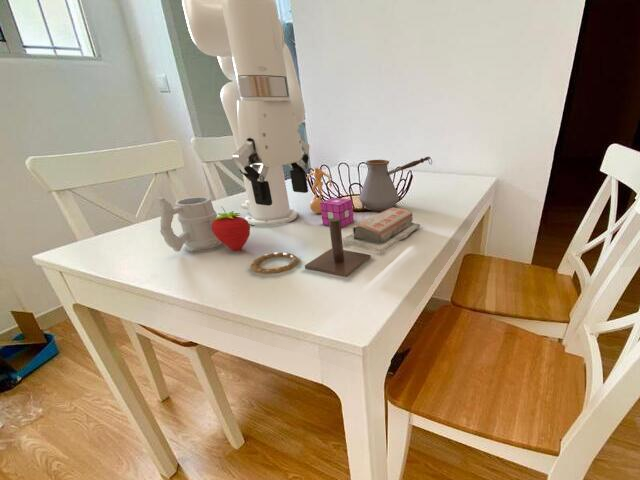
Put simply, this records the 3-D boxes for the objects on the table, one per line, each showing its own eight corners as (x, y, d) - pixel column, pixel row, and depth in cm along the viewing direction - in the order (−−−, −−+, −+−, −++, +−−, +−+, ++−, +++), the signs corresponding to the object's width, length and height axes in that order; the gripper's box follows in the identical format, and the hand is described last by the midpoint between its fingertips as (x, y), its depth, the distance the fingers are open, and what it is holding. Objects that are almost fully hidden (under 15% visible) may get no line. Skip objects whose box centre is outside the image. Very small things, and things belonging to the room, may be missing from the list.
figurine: (301, 214, 94) (294, 169, 89) (312, 208, 99) (306, 165, 94) (328, 216, 92) (323, 170, 87) (338, 210, 97) (334, 166, 92)
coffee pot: (352, 210, 97) (348, 155, 90) (370, 200, 107) (368, 149, 100) (423, 219, 91) (424, 160, 83) (436, 207, 100) (438, 153, 93)
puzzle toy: (336, 218, 91) (333, 197, 88) (354, 221, 89) (352, 199, 86) (322, 224, 86) (319, 202, 84) (341, 228, 84) (338, 205, 82)
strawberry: (244, 259, 68) (232, 210, 63) (211, 256, 69) (197, 208, 65) (261, 248, 73) (251, 202, 68) (230, 245, 74) (218, 200, 70)
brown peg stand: (305, 271, 64) (297, 223, 59) (332, 253, 71) (328, 209, 67) (346, 280, 61) (341, 230, 56) (371, 260, 68) (368, 215, 63)
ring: (242, 271, 63) (240, 265, 63) (274, 254, 70) (273, 249, 70) (277, 279, 61) (276, 273, 60) (307, 261, 67) (306, 255, 67)
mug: (234, 241, 76) (219, 187, 70) (185, 263, 67) (164, 202, 61) (208, 237, 79) (193, 184, 73) (158, 256, 69) (136, 197, 63)
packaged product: (385, 203, 86) (420, 209, 82) (385, 222, 88) (420, 228, 84) (340, 224, 72) (380, 232, 68) (342, 245, 74) (381, 254, 70)
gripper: (283, 92, 63) (297, 186, 71) (200, 90, 49) (230, 208, 57) (317, 91, 60) (328, 189, 68) (239, 89, 46) (265, 212, 54)
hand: (283, 197), depth 62 cm, fingers open, 9 cm apart
